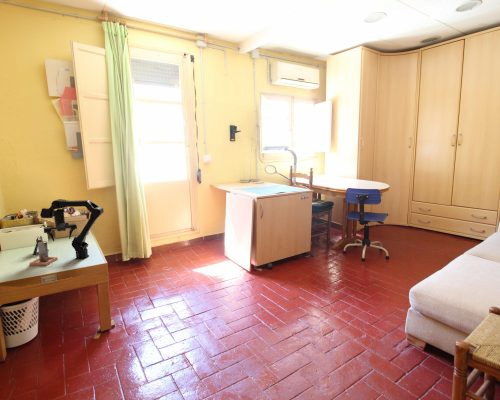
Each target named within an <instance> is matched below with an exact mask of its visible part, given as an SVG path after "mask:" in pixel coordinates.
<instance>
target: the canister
mask: <svg viewBox="0 0 500 400" xmlns="http://www.w3.org/2000/svg"><path fill="white" fill-rule="evenodd" d="M48 250H49V249H48V241H44V240H43V242H39V243H38V249H37V251H38V252H39V255H38V258H39V261H40V263H45V262H48V261H49V257H50V256H49V252H48Z"/></svg>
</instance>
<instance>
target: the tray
mask: <svg viewBox="0 0 500 400" xmlns="http://www.w3.org/2000/svg"><path fill="white" fill-rule="evenodd" d="M48 257H49V261H48V262H45V263H40V261H39V257H38V258H36V259H34V260H32V261H30V262H29V264H28V265H29V266H33V267H34V266H35V267H36V266H37V267H47V266H49V265H50V264H53V263H54V262H56V261H58V259H59V257H58V256H48Z"/></svg>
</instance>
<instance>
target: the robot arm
mask: <svg viewBox="0 0 500 400" xmlns="http://www.w3.org/2000/svg"><path fill="white" fill-rule="evenodd" d="M70 207H71V208H72V207H73V208H74V207H75V208H76V207H85V208H86V209H87V210H88V211H89V213H90V215H89V219H88V220H87V222H86V224H85V225H84V227H83V229H81V232H80V233H79V234H77V235H76V236H74V237H73V240H72V241H71V247H72V248H73V249H74V251H75V260H85V259H87V258H88V257H90V254H89V251H88V246H89V243H87V242H86V238H87V236H88V234H89V232H90V231H91V229H92V228H93V226H94V224H95V223H96V221H97V220H98V219H99V218H100V217H101V216H102V215H103V214H104V211H105V210H104V208H103V207H102V206H99V205H98V204H96V203H94V202H93V201H91V200H90V199H86V200H83V199H82V200H69V199H62V198H58V199H54V200H53V201H51V205H50V206H49V207H48V208H47V207H43V208H41V211H40V214H39V215H40V218H41V219H53V218H54V227H51V226H44V227H43V234H47V235H49V237H50V238H51V240H52V241H53V242H55V238H54V234H53V231H57V232H65V231H67V229H68V239H69V240H71V238H72V233H73V231H75V230H76V229H78V226H77V224H76V223H74V222H73V223H69V222H66V219H65V212H68V209H66V208H70Z"/></svg>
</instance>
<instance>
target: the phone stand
mask: <svg viewBox="0 0 500 400" xmlns="http://www.w3.org/2000/svg"><path fill="white" fill-rule="evenodd" d="M35 241H36V243H35V246H34V250H33V253H32V256H33V257H34V256H39V251H38V243H39V242H44V240H43V236H41V235H40V236H37V237H36V239H35ZM49 250H50V249H48V253H49V252H50V251H49Z"/></svg>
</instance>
